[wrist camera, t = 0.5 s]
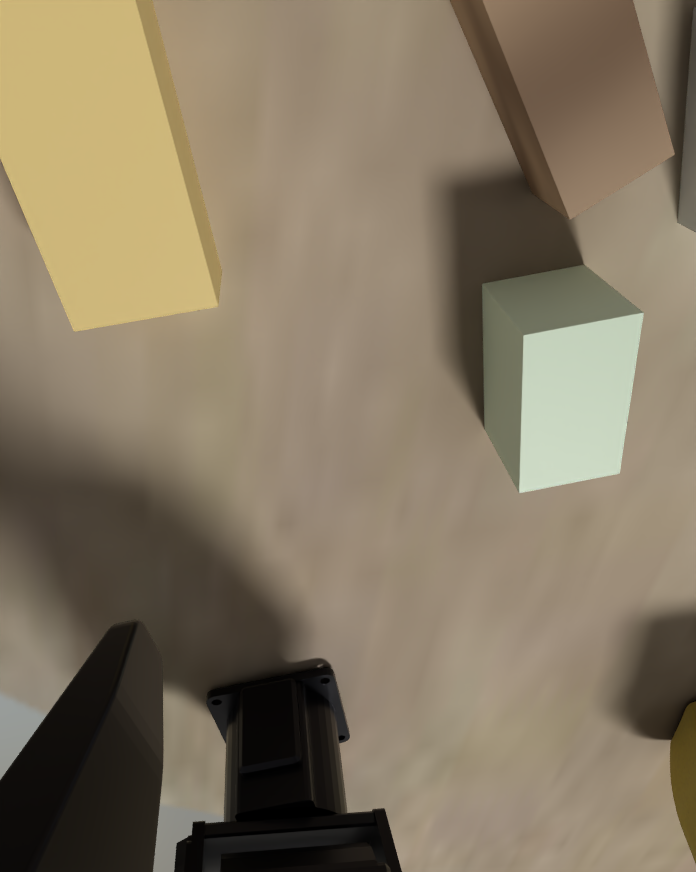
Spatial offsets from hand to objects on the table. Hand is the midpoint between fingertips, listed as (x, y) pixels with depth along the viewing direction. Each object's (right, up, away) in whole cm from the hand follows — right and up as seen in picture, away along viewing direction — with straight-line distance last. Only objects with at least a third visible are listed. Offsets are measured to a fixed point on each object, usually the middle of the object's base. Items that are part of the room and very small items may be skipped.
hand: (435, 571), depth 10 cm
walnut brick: (+4, +12, +8) cm, 15 cm away
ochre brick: (-8, +10, +8) cm, 15 cm away
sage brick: (+5, +5, +13) cm, 15 cm away
